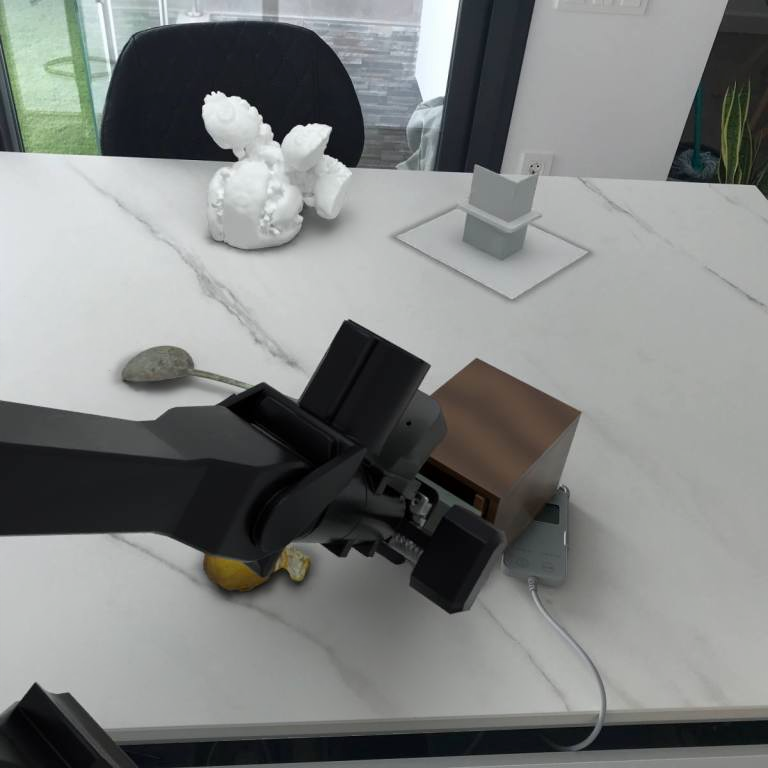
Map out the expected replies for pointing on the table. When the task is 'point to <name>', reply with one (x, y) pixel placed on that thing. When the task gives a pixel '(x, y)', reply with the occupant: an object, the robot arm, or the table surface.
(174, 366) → the soupspoon
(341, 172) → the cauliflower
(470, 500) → the drawer
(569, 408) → the cabinet
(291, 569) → the fruit
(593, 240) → the table surface
